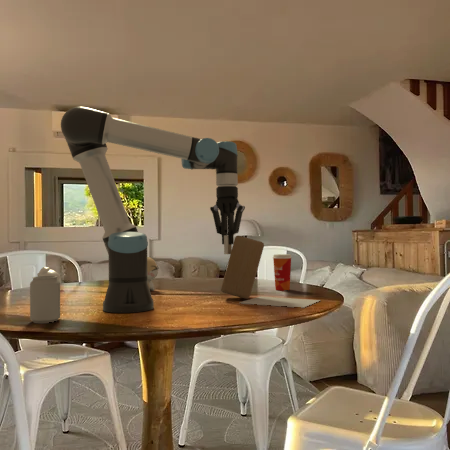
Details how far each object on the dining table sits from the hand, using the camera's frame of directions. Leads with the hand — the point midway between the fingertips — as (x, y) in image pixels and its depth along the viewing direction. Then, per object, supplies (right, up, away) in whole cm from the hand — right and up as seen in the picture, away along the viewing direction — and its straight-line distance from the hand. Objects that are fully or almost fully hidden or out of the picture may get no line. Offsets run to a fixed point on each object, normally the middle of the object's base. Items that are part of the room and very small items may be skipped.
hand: (227, 254), depth 165 cm
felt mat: (+17, -15, -10) cm, 25 cm away
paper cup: (+22, -16, +23) cm, 36 cm away
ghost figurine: (-72, -17, +24) cm, 77 cm away
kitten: (-33, -16, +24) cm, 44 cm away
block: (+2, -14, -2) cm, 14 cm away
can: (-49, -16, -39) cm, 65 cm away
